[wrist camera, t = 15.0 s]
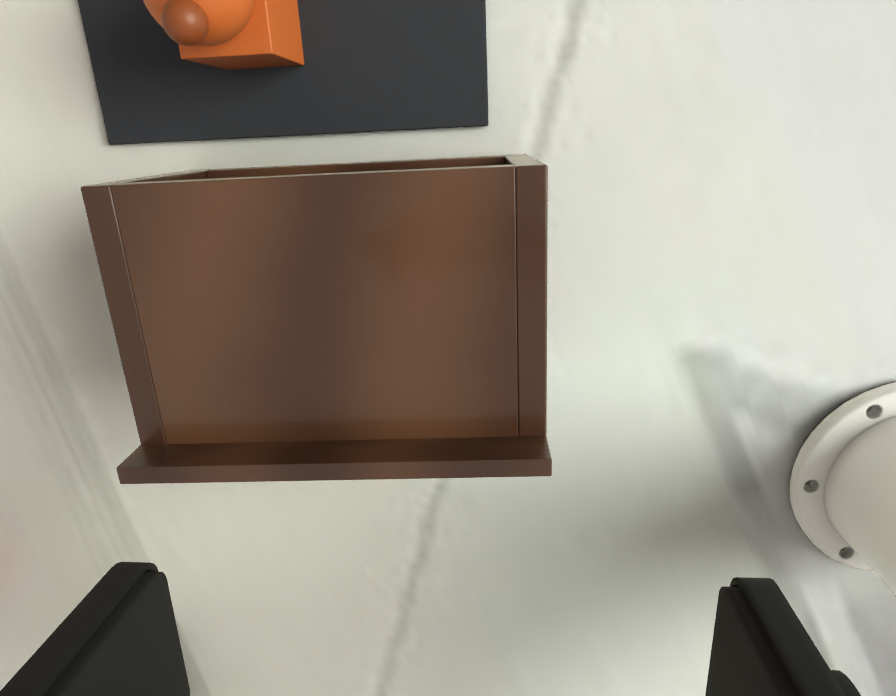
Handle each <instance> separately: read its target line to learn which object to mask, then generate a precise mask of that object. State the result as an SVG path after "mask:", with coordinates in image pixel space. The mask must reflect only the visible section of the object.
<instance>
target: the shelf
mask: <svg viewBox="0 0 896 696" xmlns="http://www.w3.org/2000/svg"><path fill="white" fill-rule="evenodd" d="M547 189H548V167H547V165H545V164H544V163H542V162H540V161H538V160H536V159H534V158H532V157H530V156H529V155H526V154H520V155H506V156H503V155H499V156H479V157H458V158H437V159H416V160H395V161H374V162H354V163H333V164H312V165H291V166H270V167H249V168H229V169H212V170H211V169H208V170H190V171H184V172H177V173H170V174H163V175H156V176H150V177H143V178H136V179H129V180H122V181H116V182H109V183H102V184H95V185H88V186H83V187H81V191H82V196H83V200H84V204H85V208H86V213H87V217H88V221H89V225H90V230H91V234H92V238H93V242H94V247H95V251H96V255H97V259H98V264H99V268H100V272H101V276H102V281H103V285H104V289H105V293H106V298H107V302H108V306H109V310H110V314H111V319H112V323H113V327H114V331H115V336H116V340H117V344H118V348H119V353H120V357H121V361H122V365H123V370H124V374H125V378H126V382H127V387H128V391H129V395H130V399H131V404H132V408H133V412H134V416H135V421H136V425H137V429H138V433H139V438H140V442H141V445H140V446H139V447H138V448H137V449H136V450H135V451H134V452H133V453H132V454H131V455H130V456H129V457H127V458H126V459H125V460H124V461H123V462H122V463H121V464H120V465H119V466H118V467H117V472H118V476H119V480H120V483H121V484H145V483H200V482H255V481H309V480H364V479H418V478H473V477H528V476H551V475H552V459H551V455H550V450H549V446H548V441H547V437H546V398H547Z"/></svg>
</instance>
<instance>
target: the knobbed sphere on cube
mask: <svg viewBox="0 0 896 696" xmlns="http://www.w3.org/2000/svg"><path fill="white" fill-rule="evenodd" d="M143 1H144V3H145V6H146V7H147V9H148V10H149V12H150V14H151V15H152V16H153V18H154V19H155V20H156V21H157V23H158V24H159V25H160V26H161V27H163V28H164V30H165V32H166V33H167V35H168V36H169V37H170V38H171V39H172V40H174V41H175V42H177V43H178V44H179V50H180V56H181V59H184V60H188V61H192V62H197V63H201V64H205V65H209V66H214V67H218V68H222V69H226V70H232V69H250V68H268V67H285V66H303V65H304V56H303V47H302V39H301V30H300V21H299V12H298V3H297V0H143Z"/></svg>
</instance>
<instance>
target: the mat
mask: <svg viewBox="0 0 896 696" xmlns="http://www.w3.org/2000/svg"><path fill="white" fill-rule="evenodd" d="M78 3H79V7H80V12H81V17H82V21H83V26H84V31H85V35H86V40H87V44H88V49H89V54H90V58H91V63H92V68H93V72H94V77H95V81H96V86H97V91H98V95H99V100H100V105H101V109H102V114H103V118H104V123H105V128H106V132H107V137H108V142H109V144H110V145H115V144H134V143H154V142H174V141H193V140H213V139H233V138H252V137H272V136H292V135H311V134H331V133H351V132H370V131H390V130H410V129H429V128H449V127H469V126H487V125H488V90H487V50H486V9H485V0H297V3H298V12H299V21H300V30H301V39H302V47H303V56H304V65H303V66H285V67H268V68H250V69H232V70H226V69H222V68H218V67H214V66H209V65H205V64H201V63H197V62H192V61H188V60H184V59H181V56H180V50H179V44H178V43H177V42H175V41H174V40H172V39H171V38H170V37H169V36H168V35H167V33H166V32H165V30H164V28H163V27H161V26H160V25H159V24H158V23H157V21H156V20H155V19H154V18H153V16H152V15H151V14H150V12H149V10H148V9H147V7H146V6H145V3H144V1H143V0H78Z"/></svg>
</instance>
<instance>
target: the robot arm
mask: <svg viewBox="0 0 896 696" xmlns="http://www.w3.org/2000/svg"><path fill="white" fill-rule="evenodd" d="M790 501H791V505H792V509H793V513H794V516H795V518H796V520H797V521H798V523H799V525H800V527H801V529H802V530H803V531H804V533H805V534H806V535H807V536H808V537H809V539H810V540H811V541H812V543H813V544H814V545H815V546H817V547H818V548H819V549H820V550H821V551H822V552H823V553H825V554H826V555H827V556H829V557H831V558H832V559H834V560H836V561H837V562H840V563H842V564H845V565H848V566H851V567H854V568H857V569H862V570H869V571H873V572H874V573H875V574H876V575H877V576H878V577H879V578H880V579H881V581H882V582H883V583H884V584H885V585H886V586H887V587H888V588H889V589H890V591H891V592H892V593H893V594H894V595H895V596H896V382H895V383H890V384H886V385H883V386H880V387H877V388H874V389H872V390H869V391H866V392H864V393H862V394H860V395H858V396H856V397H854V398H853V399H851V400H849V401H847V402H845V403H844V404H842V405H841V406H840V407H838V408H837V409H836V410H834V411H833V412H832V413H830V414H829V415H828V416H827V417H826V418H825V419H824V420H823V421H822V422H821V423H820V424H819V425H818V426H817V427H816V428H815V429H814V430H813V431H812V433H811V434H810V436H809V437H808V438H807V440H806V441H805V443H804V444H803V446H802V447H801V449H800V451H799V454H798V456H797V458H796V461H795V463H794V465H793V470H792V475H791V480H790ZM0 696H190V689H189V684H188V679H187V674H186V669H185V665H184V660H183V655H182V650H181V645H180V640H179V636H178V631H177V626H176V621H175V616H174V612H173V607H172V602H171V597H170V592H169V588H168V583H167V578H166V576H165V574H164V573H163V572H158V569H157V567H156V566H155V564H153V563H141V562H120V563H116V564H115V565H114V566H113V567H112V568H111V569H110V570H109V571H108V572H107V573H106V574H105V576H104V577H103V578H102V579H101V580H100V581H99V582H98V583H97V584H96V586H95V587H94V588H93V589H92V590H91V591H90V592H89V593H88V594H87V596H86V597H85V598H84V599H83V600H82V601H81V602H80V603H79V604H78V606H77V607H76V608H75V609H74V610H73V611H72V612H71V613H70V614H69V616H68V617H67V618H66V619H65V620H64V621H63V622H62V623H61V624H60V625H59V627H58V628H57V629H56V630H55V631H54V632H53V633H52V634H51V635H50V637H49V638H48V639H47V640H46V641H45V642H44V643H43V644H42V645H41V647H40V648H39V649H38V650H37V651H36V652H35V653H34V654H33V655H32V657H31V658H30V659H29V660H28V661H27V662H26V663H25V664H24V665H23V667H22V668H21V669H20V670H19V671H18V672H17V673H16V674H15V675H14V677H13V678H12V679H11V680H10V681H9V682H8V683H7V684H6V685H5V687H4V688H3V689H2V690H1V691H0ZM706 696H861V695H860V693H859V692H858V690H857V689H856V687H855V686H854V684H853V683H852V682H851V681H850V679H849V678H848V677H847V676H846V675H845V674H843V673H842V672H840V671H836V670H830V669H829V667H828V665H827V664H826V662H825V660H824V659H823V657H822V656H821V654H820V652H819V651H818V649H817V648H816V646H815V644H814V643H813V641H812V640H811V638H810V636H809V635H808V633H807V632H806V630H805V628H804V627H803V625H802V624H801V622H800V620H799V619H798V617H797V616H796V614H795V612H794V611H793V609H792V608H791V606H790V604H789V603H788V601H787V600H786V598H785V596H784V595H783V593H782V592H781V590H780V588H779V587H778V585H777V584H776V583H775V581H774V580H772V579H770V578H737V577H736V578H733V579H732V581H731V583H730V587H721V589H720V591H719V596H718V604H717V612H716V619H715V627H714V635H713V642H712V650H711V658H710V665H709V673H708V681H707V688H706Z"/></svg>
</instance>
